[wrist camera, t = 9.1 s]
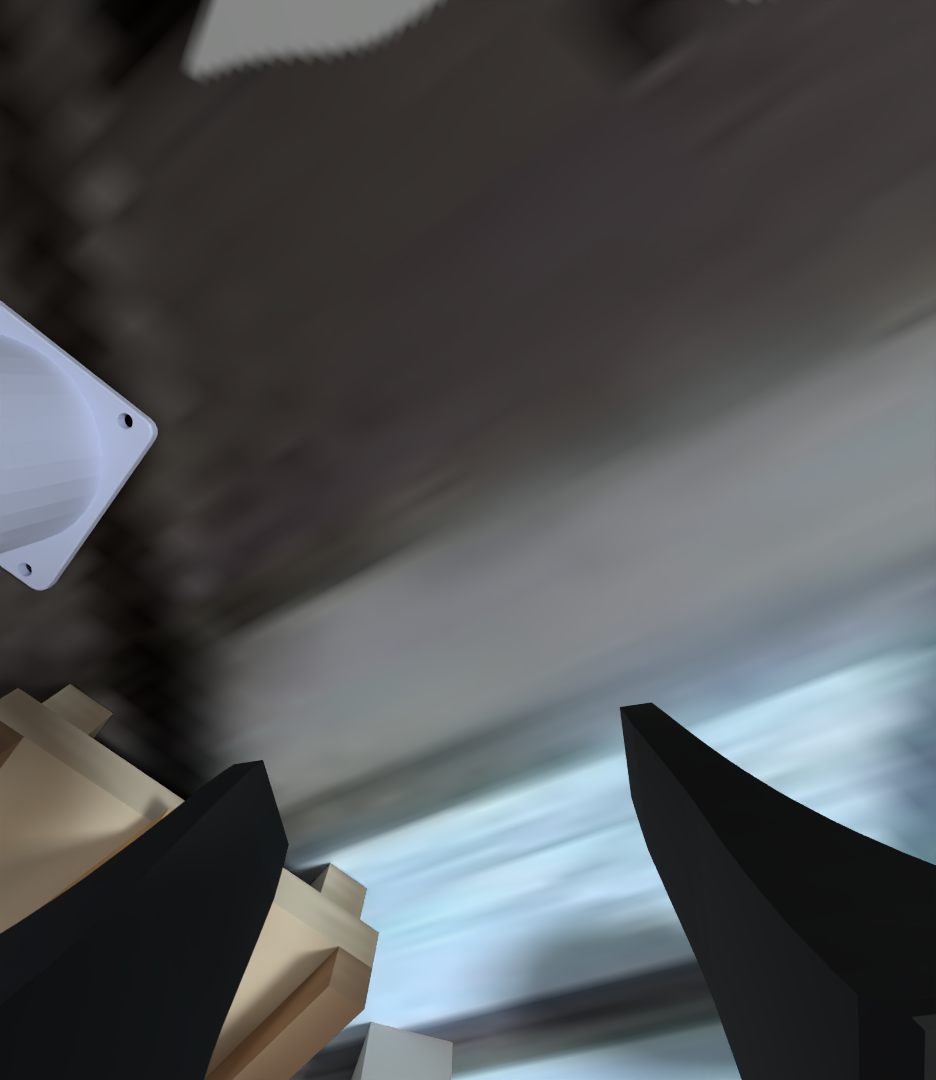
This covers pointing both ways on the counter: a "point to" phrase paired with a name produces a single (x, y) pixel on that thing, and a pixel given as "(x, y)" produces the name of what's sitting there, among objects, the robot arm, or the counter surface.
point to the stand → (117, 815)
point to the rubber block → (402, 1056)
